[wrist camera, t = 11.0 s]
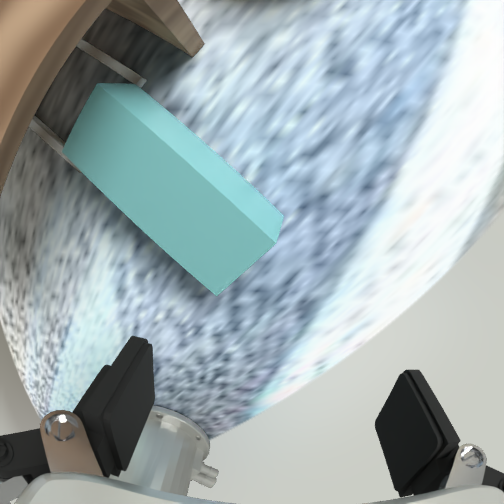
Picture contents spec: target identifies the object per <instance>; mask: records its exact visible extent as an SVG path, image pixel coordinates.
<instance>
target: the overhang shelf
mask: <svg viewBox="0 0 504 504" xmlns="http://www.w3.org/2000/svg"><path fill="white" fill-rule="evenodd" d="M105 8H106V9H108V10H110V11H112V12H114V13H116V14H118V15H120V16H122V17H124V18H126V19H128V20H130V21H131V22H133V23H135V24H137V25H139V26H141V27H143V28H144V29H146V30H148V31H150V32H152V33H153V34H155V35H157V36H158V37H160V38H162V39H164V40H165V41H167V42H169V43H170V44H172V45H174V46H175V47H177V48H179V49H180V50H182V51H183V52H185V53H187V54H188V55H190V56H191V57H193V56H194V55H195V54H196V53H197V52H198V51H199V50H200V49H201V47H202V46H203V45H204V42H203V41H202V39H201V37H200V36H199V34H198V32H197V31H196V29H195V28H194V26H193V24H192V23H191V21H190V20H189V18H188V16H187V15H186V13H185V12H184V10H183V8H182V7H181V5H180V4H179V2H178V1H177V0H0V196H1V193H2V190H3V187H4V184H5V181H6V179H7V176H8V173H9V171H10V168H11V166H12V163H13V161H14V158H15V156H16V153H17V151H18V149H19V146H20V144H21V142H22V140H23V137H24V135H25V133H26V131H27V129H28V127H30V128H31V129H32V130H33V131H34V132H35V133H36V134H37V135H38V136H39V137H40V138H42V139H43V140H44V141H45V142H46V143H47V144H48V145H49V146H50V147H51V148H53V149H54V150H55V151H56V152H57V153H58V154H59V155H60V156H61V157H63V158H64V159H65V160H66V161H67V162H68V163H69V164H70V165H72V166H73V167H74V168H75V169H76V170H77V171H78V172H79V173H82V172H81V171H80V170H79V169H78V168H77V167H76V166H75V165H74V164H73V163H72V162H71V161H70V160H69V159H68V158H67V156H66V155H65V154H64V153H63V152H62V150H63V148H64V145H65V143H66V142H64V141H63V140H62V139H61V138H60V137H59V136H58V135H56V134H55V133H54V132H53V131H52V130H51V129H50V128H48V127H47V126H46V125H45V124H44V123H43V122H42V121H41V120H39V119H38V118H37V117H36V116H35V113H36V111H37V109H38V107H39V105H40V103H41V101H42V100H43V98H44V96H45V94H46V92H47V91H48V89H49V87H50V86H51V84H52V82H53V80H54V79H55V77H56V76H57V74H58V72H59V71H60V69H61V68H62V66H63V65H64V63H65V61H66V60H67V58H68V57H69V55H70V54H71V53H72V51H73V50H74V48H75V47H78V48H80V49H81V50H83V51H84V52H86V53H88V54H89V55H91V56H92V57H94V58H95V59H97V60H99V61H100V62H102V63H103V64H105V65H106V66H108V67H109V68H111V69H112V70H114V71H115V72H117V73H118V74H120V75H121V76H123V77H124V78H126V79H127V80H129V81H130V82H132V83H133V84H136V85H137V86H138V87H141V88H142V86H143V85H144V84H145V82H146V81H147V80H146V79H144V78H143V77H141V76H140V75H138V74H137V73H135V72H134V71H132V70H131V69H129V68H128V67H126V66H125V65H123V64H122V63H120V62H118V61H117V60H115V59H114V58H112V57H111V56H109V55H107V54H106V53H104V52H103V51H101V50H99V49H98V48H96V47H94V46H93V45H91V44H89V43H88V42H86V41H84V40H83V39H81V38H82V37H83V36H84V34H85V33H86V32H87V30H88V29H89V28H90V27H91V25H92V24H93V23H94V22H95V20H96V19H97V18H98V17H99V15H100V14H101V13H102V12H103V11H104V9H105Z"/></svg>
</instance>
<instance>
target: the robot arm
mask: <svg viewBox="0 0 504 504" xmlns="http://www.w3.org/2000/svg"><path fill="white" fill-rule="evenodd" d="M154 400H155V391H154V374H153V348H152V344H148V340H147V339H144V338H139V337H135V336H131V337H130V339H129V340H128V342H127V343H126V345H125V346H124V348H123V349H122V351H121V352H120V353H119V355H118V356H117V358H116V359H115V361H114V362H113V364H112V365H111V366H110V365H105V366H104V367H103V368H102V369H101V371H100V372H99V373H98V375H97V376H96V378H95V379H94V381H93V382H92V384H91V385H90V387H89V388H88V390H87V391H86V393H85V394H84V396H83V397H82V399H81V400H80V402H79V403H78V405H77V406H76V408H75V409H74V411H73V412H70V411H65V410H57V411H53V412H50V413H49V414H47V415H46V416H45V417H44V418H43V419H42V421H41V424H40V428H39V429H34V430H30V431H25V432H19V433H13V434H8V435H3V436H0V504H11V503H10V501H12V500H13V499H15V498H18V499H17V500H16V502H15V503H14V504H234V503H225V502H218V501H211V500H205V499H199V498H193V497H188V496H187V493H188V488H189V484H190V481H192V480H194V481H196V482H198V483H200V484H202V485H204V486H207V487H209V488H212V487H213V486H214V485H215V483H216V477H217V475H218V472H219V471H218V470H217V469H214V468H212V467H209V466H207V465H205V464H204V462H202V461H203V460H204V459H206V457H207V456H208V454H209V449H210V441H209V439H208V436H207V435H206V433H205V432H204V431H203V430H202V429H201V428H200V427H199V426H198V425H197V424H196V423H194V422H193V421H192V420H190V419H189V418H187V417H185V416H183V415H182V414H179V413H177V412H175V411H172V410H169V409H166V408H163V407H159V406H154V405H153V404H154ZM375 429H376V432H377V434H378V438H379V441H380V444H381V447H382V450H383V453H384V456H385V459H386V463H387V466H388V469H389V472H390V475H391V479H392V482H393V485H394V488H395V490H396V491H398V492H399V496H400V497H404V498H398V499H393V500H387V501H380V502H373V503H364V504H504V473H502V472H499V471H497V470H495V469H493V468H490V467H488V466H486V461H487V458H486V456H485V453H484V452H483V450H482V449H481V448H479V447H478V446H476V445H473V444H465V445H462V446H461V447H459V446H458V443H459V442H460V439H459V437H458V435H457V433H456V431H455V430H454V428H453V426H452V424H451V422H450V421H449V419H448V417H447V415H446V414H445V412H444V410H443V408H442V407H441V405H440V403H439V402H438V400H437V398H436V396H435V395H434V393H433V391H432V390H431V388H430V386H429V385H428V383H427V381H426V380H425V378H424V376H423V375H422V373H421V372H420V371H419V370H405V371H404V372H403V373H402V374H400V375H399V377H398V379H397V381H396V383H395V385H394V387H393V389H392V391H391V393H390V395H389V397H388V399H387V400H386V402H385V404H384V406H383V408H382V410H381V412H380V413H379V415H378V417H377V419H376V421H375ZM412 494H414V496H410V497H405V496H409V495H412Z"/></svg>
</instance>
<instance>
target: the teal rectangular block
mask: <svg viewBox="0 0 504 504" xmlns="http://www.w3.org/2000/svg"><path fill="white" fill-rule="evenodd" d="M62 152H63V153H64V154H65V155H66V156H67V158H68V159H69V160H70V161H71V162H72V163H73V164H74V165H75V166H76V167H77V168H78V169H79V170H80V171H81V172H82V173H83V174H84V175H85V176H86V177H87V178H88V179H89V180H90V181H91V182H92V183H93V184H94V185H95V186H96V187H97V188H98V189H99V190H100V191H101V192H102V193H103V194H104V195H105V196H107V197H108V198H109V199H110V200H111V201H112V202H113V203H114V204H115V205H116V206H117V207H118V208H119V209H120V210H121V211H122V212H123V213H124V214H125V215H126V216H127V217H128V218H130V219H131V220H132V221H133V222H134V223H135V224H136V225H137V226H138V227H139V228H140V229H141V230H142V231H143V232H145V233H146V234H147V235H148V236H149V237H150V238H151V239H152V240H153V241H154V242H155V243H157V244H158V245H159V246H160V247H161V248H162V249H163V250H164V251H165V252H166V253H168V254H169V255H170V256H171V257H172V258H173V259H174V260H175V261H177V262H178V263H179V264H180V265H181V266H182V267H183V268H184V269H186V270H187V271H188V272H189V273H190V274H191V275H192V276H194V277H195V278H196V279H197V280H198V281H199V282H200V283H202V284H203V285H204V286H205V287H206V288H207V289H209V290H210V291H211V292H212V293H213V294H215V295H216V296H218V295H219V294H220V293H221V292H222V291H223V290H224V289H226V288H227V287H228V286H229V285H230V284H231V283H232V282H233V281H235V280H236V279H237V278H238V277H239V276H240V275H241V274H242V273H244V272H245V271H246V270H247V269H248V268H249V267H250V266H251V265H253V264H254V263H255V262H256V261H257V260H258V259H259V258H260V257H262V256H263V255H264V254H265V253H266V252H267V251H268V250H269V249H270V248H272V247H273V246H274V245H275V244H276V242H277V239H278V235H279V232H280V228H281V225H282V221H283V218H284V215H283V214H282V213H281V212H280V211H278V210H277V209H276V208H275V207H274V206H273V205H272V204H271V203H270V202H269V201H268V200H267V199H266V198H265V197H264V196H263V195H262V194H260V193H259V192H258V191H257V190H256V189H255V188H254V187H253V186H252V185H251V184H250V183H249V182H248V181H246V180H245V179H244V178H243V177H242V176H241V175H240V174H239V173H238V172H237V171H236V170H234V169H233V168H232V167H231V166H230V165H229V164H228V163H227V162H226V161H225V160H223V159H222V158H221V157H220V156H219V155H218V154H217V153H216V152H214V151H213V150H212V149H211V148H210V147H209V146H208V145H207V144H205V143H204V142H203V141H202V140H201V139H200V138H199V137H197V136H196V135H195V134H194V133H193V132H192V131H191V130H189V129H188V128H187V127H186V126H185V125H184V124H183V123H181V122H180V121H179V120H178V119H177V118H176V117H174V116H173V115H172V114H171V113H170V112H168V111H167V110H166V109H165V108H164V107H163V106H161V105H160V104H159V103H158V102H157V101H155V100H154V99H153V98H152V97H151V96H149V95H148V94H147V93H146V92H145V91H143V90H142V89H141V88H140V87H138V86H137V85H136V84H122V83H97V84H96V86H95V88H94V89H93V91H92V93H91V95H90V96H89V98H88V100H87V102H86V104H85V105H84V107H83V109H82V111H81V113H80V115H79V117H78V119H77V121H76V123H75V125H74V127H73V129H72V131H71V133H70V135H69V137H68V139H67V141H66V143H65V145H64V148H63V150H62Z"/></svg>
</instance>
